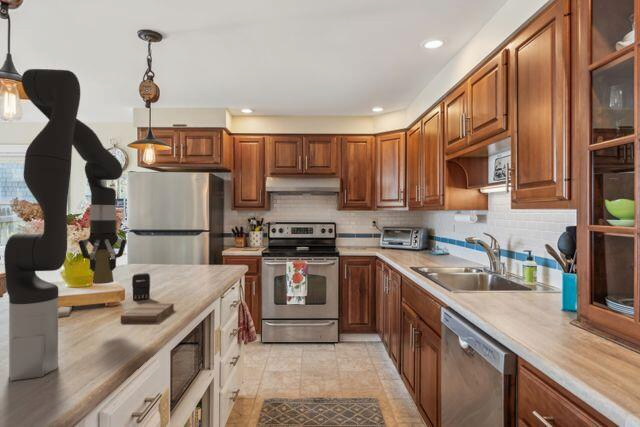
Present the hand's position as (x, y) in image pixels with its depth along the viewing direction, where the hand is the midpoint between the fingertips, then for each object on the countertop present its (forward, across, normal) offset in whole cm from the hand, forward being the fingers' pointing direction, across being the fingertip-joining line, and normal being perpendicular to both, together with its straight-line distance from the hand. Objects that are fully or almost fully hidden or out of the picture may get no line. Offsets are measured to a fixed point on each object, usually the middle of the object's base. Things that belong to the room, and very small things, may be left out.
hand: (103, 270), depth 117 cm
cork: (+4, 0, 0) cm, 4 cm away
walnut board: (+19, +13, +9) cm, 25 cm away
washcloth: (+20, -21, +27) cm, 40 cm away
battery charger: (+19, +8, +37) cm, 43 cm away
